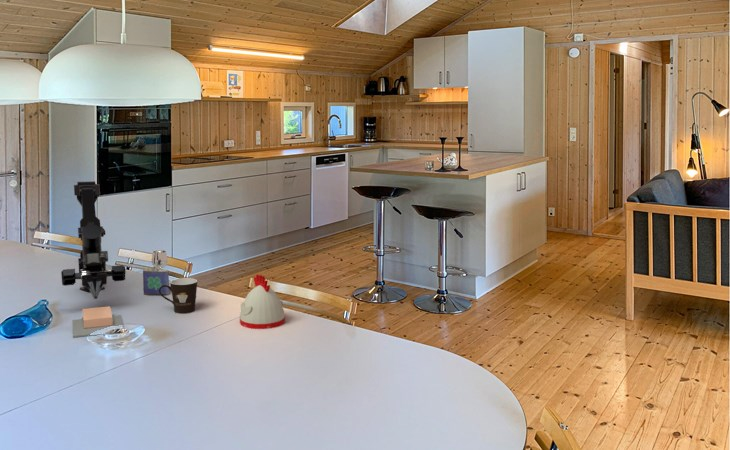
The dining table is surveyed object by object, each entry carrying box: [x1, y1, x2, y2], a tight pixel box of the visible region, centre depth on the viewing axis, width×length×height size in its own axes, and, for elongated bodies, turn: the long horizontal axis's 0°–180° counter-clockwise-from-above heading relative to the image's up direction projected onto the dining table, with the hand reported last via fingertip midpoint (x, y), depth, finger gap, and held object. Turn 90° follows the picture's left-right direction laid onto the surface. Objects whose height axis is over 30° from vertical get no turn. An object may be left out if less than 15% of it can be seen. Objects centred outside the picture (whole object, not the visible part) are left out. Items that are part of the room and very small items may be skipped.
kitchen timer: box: [239, 274, 286, 330], centre depth 200 cm, size 14×14×15 cm
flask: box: [142, 265, 170, 297], centre depth 228 cm, size 9×3×11 cm, turn 87°
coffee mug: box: [159, 277, 198, 315], centre depth 211 cm, size 12×9×10 cm
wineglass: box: [151, 249, 169, 270], centre depth 245 cm, size 6×6×12 cm
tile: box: [82, 306, 113, 328], centre depth 197 cm, size 3×8×12 cm
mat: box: [71, 314, 124, 339], centre depth 194 cm, size 16×14×1 cm
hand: (95, 298), depth 201 cm, fingers closed
